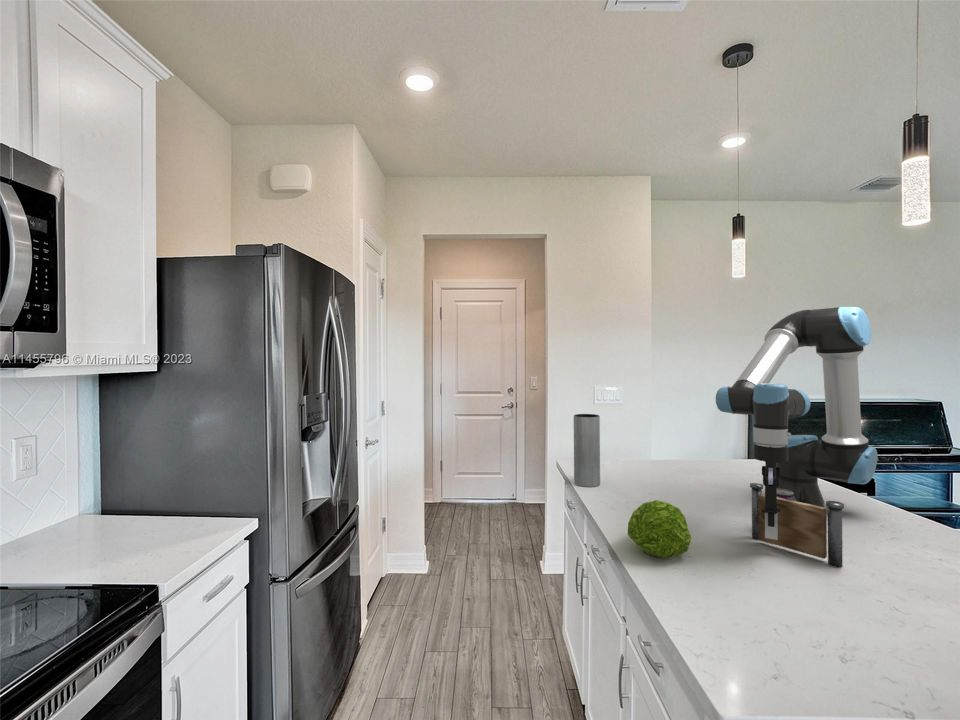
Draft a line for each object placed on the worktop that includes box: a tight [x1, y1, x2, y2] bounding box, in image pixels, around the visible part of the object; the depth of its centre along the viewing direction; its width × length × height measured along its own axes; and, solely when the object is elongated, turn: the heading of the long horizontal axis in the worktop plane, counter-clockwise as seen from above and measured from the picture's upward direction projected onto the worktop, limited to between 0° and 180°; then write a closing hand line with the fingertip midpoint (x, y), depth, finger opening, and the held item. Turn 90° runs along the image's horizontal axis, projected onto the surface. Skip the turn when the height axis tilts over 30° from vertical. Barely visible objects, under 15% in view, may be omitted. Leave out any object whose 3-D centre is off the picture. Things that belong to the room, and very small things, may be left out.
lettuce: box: [627, 499, 692, 559], centre depth 127 cm, size 15×24×14 cm, turn 156°
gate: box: [758, 493, 828, 559], centre depth 122 cm, size 15×3×12 cm, turn 35°
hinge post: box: [825, 500, 845, 568], centre depth 115 cm, size 4×4×15 cm
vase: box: [573, 413, 601, 488], centre depth 190 cm, size 10×10×27 cm
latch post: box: [749, 482, 764, 541], centre depth 132 cm, size 3×3×15 cm
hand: (771, 537), depth 122 cm, fingers closed
